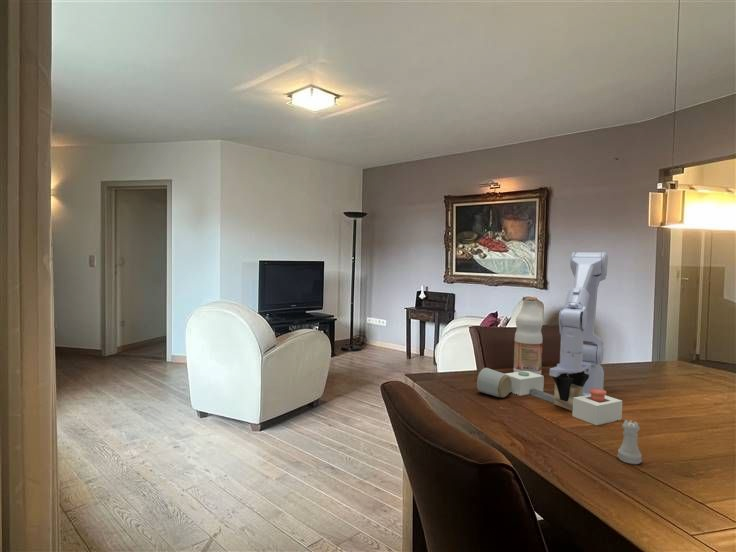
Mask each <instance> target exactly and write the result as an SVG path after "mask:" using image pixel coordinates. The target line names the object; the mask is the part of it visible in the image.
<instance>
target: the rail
mask: <svg viewBox="0 0 736 552" xmlns="http://www.w3.org/2000/svg"><path fill="white" fill-rule="evenodd" d="M529 395H530V396H534V397H536V398H539V399H541V400H544V401H546V402H549V403H552V404H554V395H553V394H551V393H548V392H545V391H544V390H543V391H540V390H537V389H531V390H530V394H529Z"/></svg>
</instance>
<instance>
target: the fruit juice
mask: <svg viewBox="0 0 736 552" xmlns="http://www.w3.org/2000/svg"><path fill="white" fill-rule="evenodd" d="M537 303H538V297H536V296H523V297H522V307H521V310H520V311H519V313H518V314H517V316H516V318H515V325H516V326H515V327H516V330H515V333H514V348H513V349H514V351H513V354H514V355H513V372H521V371H529V372H533V373H536V374H539V375H542V363H543V361H542V360H543V334H542V328H543V326H544V325H543V324H544V323H543V321H544V320H543V318H542V317H541V315H540V313H539V310H538V306H537Z"/></svg>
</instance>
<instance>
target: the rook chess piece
mask: <svg viewBox="0 0 736 552" xmlns="http://www.w3.org/2000/svg"><path fill="white" fill-rule="evenodd" d="M621 427H622V428H623V431H622V434H623V440H622V443H621V445H620V447H619V448H618V450H617V452H618V454H617V456H616V457H617V458H618V459H619V460H620V461H621V462H623V463H625V464H627V465H639V464H641V463H642V462H643V459H642V452H640V449H639V445H638V437H639V433H638V432H639V431H640V430H641V428H640V426H639V422H637V421H633V420H630V419H629V421H628V420H627V419H625V420H624V421H623V423H622V424H621Z"/></svg>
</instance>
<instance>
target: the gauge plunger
mask: <svg viewBox="0 0 736 552" xmlns="http://www.w3.org/2000/svg"><path fill="white" fill-rule="evenodd" d="M589 392H590V393H591V400H593V401H596V402H599V403H601V402H604V401H605V395H606V396H607V390H605V389H603V390H602V389H597V388H591V389H589Z"/></svg>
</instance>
